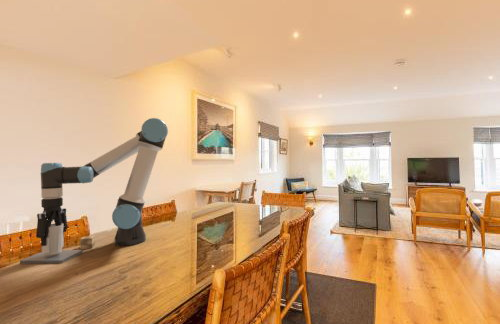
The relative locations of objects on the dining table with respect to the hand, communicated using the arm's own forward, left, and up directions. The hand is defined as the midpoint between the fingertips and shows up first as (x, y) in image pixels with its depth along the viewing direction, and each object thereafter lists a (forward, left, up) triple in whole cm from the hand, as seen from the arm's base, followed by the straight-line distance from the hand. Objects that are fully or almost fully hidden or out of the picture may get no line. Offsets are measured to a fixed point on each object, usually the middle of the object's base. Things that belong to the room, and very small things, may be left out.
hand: (53, 249), depth 117 cm
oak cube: (-6, -14, -4) cm, 16 cm away
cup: (0, 0, -1) cm, 1 cm away
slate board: (0, 0, -4) cm, 4 cm away
